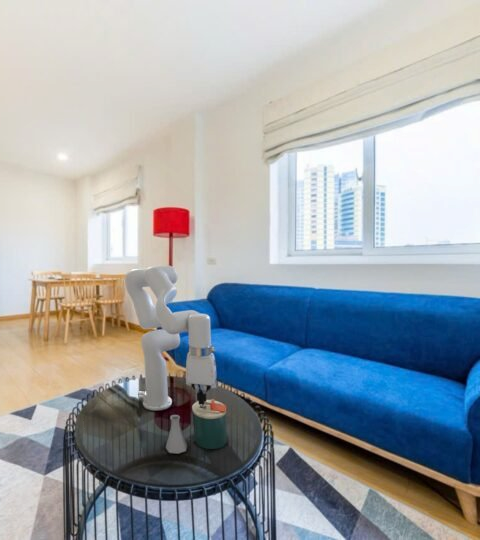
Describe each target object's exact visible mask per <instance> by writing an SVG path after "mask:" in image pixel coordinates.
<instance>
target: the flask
mask: <svg viewBox="0 0 480 540" xmlns="http://www.w3.org/2000/svg"><path fill="white" fill-rule="evenodd" d="M180 419H181V416H180V415H179V414H172V415H170V417H169V420H170V421H171V422H170V431H169V434H168V437H167V441H166V444H165V449H166V451H167V452H168V453H169V454H176V455H177V454H181V453H184V452H187V449H188V443H187V441H186V438H185V436H184V434H183V431H182V427H181V424H180Z"/></svg>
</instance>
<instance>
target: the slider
mask: <svg viewBox="0 0 480 540" xmlns="http://www.w3.org/2000/svg"><path fill="white" fill-rule="evenodd" d="M211 400H212V401H211V404H210V410H213V411H220V412H224V413H225V411H226V412H227V405H226V404H224V405H219V404H215V402H214V400H215V398H211Z"/></svg>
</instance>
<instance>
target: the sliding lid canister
mask: <svg viewBox="0 0 480 540" xmlns="http://www.w3.org/2000/svg"><path fill="white" fill-rule="evenodd" d="M211 401H212V399H206V402H205V403H204V405H202V404H201V405H199V401H196V402H194V403H193V404H192V406H191V410H192V421H193V422H192V423H193V424H192V427H193V441H194V442H195V444H196V445H197V446H199V447H201V448H203V449H205V450H217V449H221V448H223V447H224V446H226V444H227V442H228V435H227V434H228V433H227V410H226V411H225V413H224V412H220V411H213V410H210V404H211ZM214 402H215V404H219V405H225V404H224V403H222V402H220V401H218V400H215V399H214Z"/></svg>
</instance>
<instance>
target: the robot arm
mask: <svg viewBox="0 0 480 540" xmlns="http://www.w3.org/2000/svg"><path fill="white" fill-rule="evenodd" d="M178 276H179V275H178V272H177V269H176V268H174V267H173V265H154V266H150V267H147V268H135V269H131V270H129V271H128V272H127V273H126V275H125V279H124V282H125V283H124V284H125V288H126V292H127V294H128V295H129V297H130V299H131V301H132V304H133V307H134V310H135V314H136V318H137V322H138V324H139V326H140V329H143V330H150V331H148V332H146V333H144V334H143V335H142V336H141V338H140V345H141V349H142V354H143V361H144V381H145V391H140V390H139V391H138V392H137V398H138V399H143V400H142V406H143V407H144V408H145V409H147V410H149V411H156V412H158V411H165V410H167V409H169V408H170V407H171V406H172V404H173V399H172V398H171V397H170V396H169V387H168V366H167V364H168V363H167V361H166V359H165V357H164V356H163V355H162V353H164V352H168V351H173V350H176V349H177V348H179V346H180V344H181V336H180V334H183V333H188V352H187V354H186V361H185V385H186V386H189V387H191V388H192V389H193V390H194V391H195V393H196V400H197V401H196V402H198V401H199V405H201V404H202V405H204V403H205V402H206V400H208V398H207V392H208V391H209V390H211V389H217V387H218V383H217V378H218V377H217V375H218V374H217V365H216V364H217V363H216V358H215V354H214V353H216V351H217V350H216V347H214V346H213V345H212V331H211V330H212V329H211V328H212V327H211V326H212V325H211V316H209V314H207V313H200V312H199V311H196V310H193V309H190V310H189V309H188V310H180V311H175V312H173V311H172V310H171V309H170V307H168V306H167V305H168V304H170V303H171V302H172V301H173V300H174V299H175V298H176V296H177V294H178V293H177V292H178V290H177V287H176V286H175V284H176V283H177V282H178V279H179V277H178ZM144 288H150V291H152V293H153V295H154V296H155V298H156V299H157V300H156V304H155V305H154V303H153V299H152V297H151V295H150V294H149V292H147V290H145V289H144ZM157 328H161V329H157ZM153 329H156V330H153ZM201 386H202V388H201Z"/></svg>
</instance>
